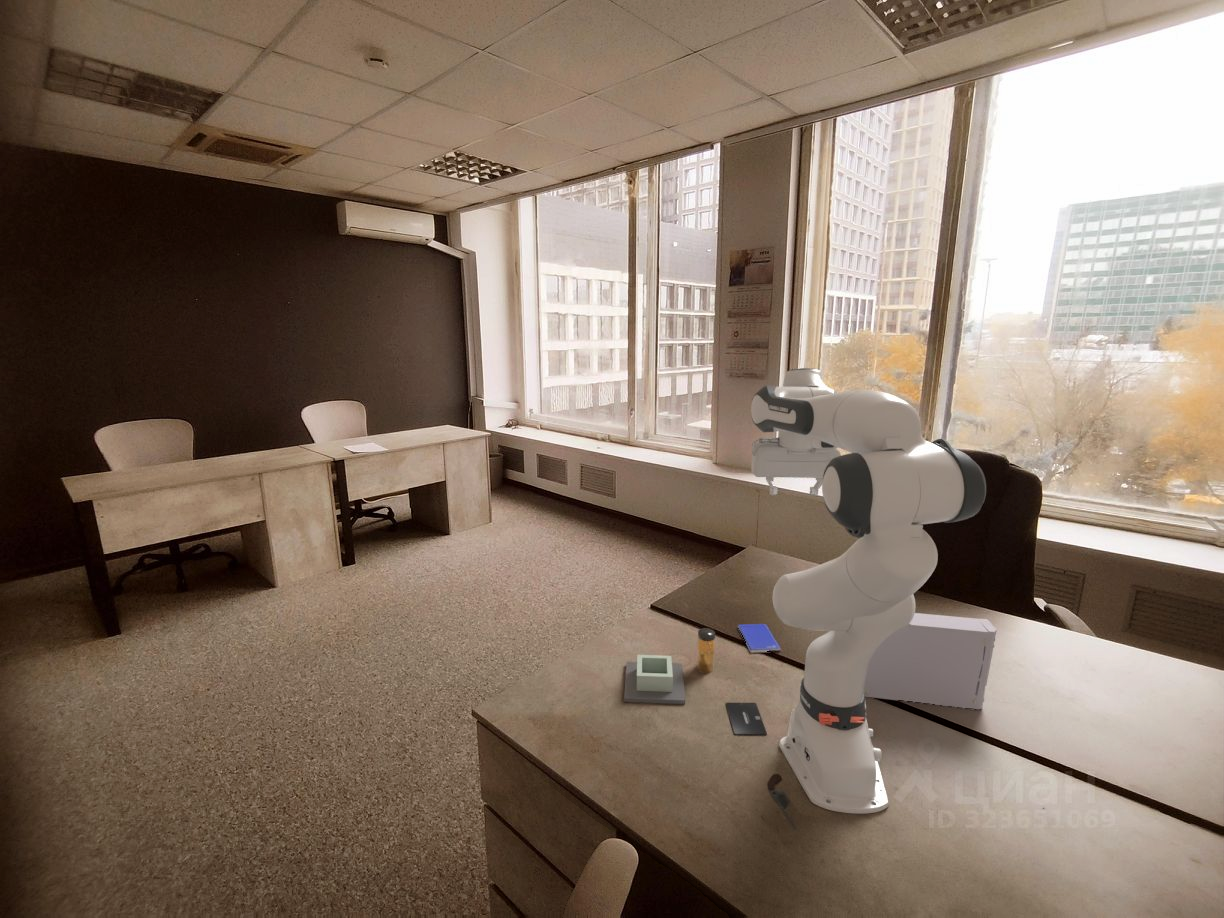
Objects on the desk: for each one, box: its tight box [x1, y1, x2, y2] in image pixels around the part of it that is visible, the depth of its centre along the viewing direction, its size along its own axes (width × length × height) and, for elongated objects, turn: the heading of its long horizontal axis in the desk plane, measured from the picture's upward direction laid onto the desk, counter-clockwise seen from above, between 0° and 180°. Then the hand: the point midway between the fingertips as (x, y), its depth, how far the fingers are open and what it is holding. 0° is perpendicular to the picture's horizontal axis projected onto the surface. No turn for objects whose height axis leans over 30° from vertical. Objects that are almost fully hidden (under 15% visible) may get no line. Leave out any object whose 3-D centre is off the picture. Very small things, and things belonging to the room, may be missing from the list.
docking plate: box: [624, 654, 686, 705], centre depth 132 cm, size 14×14×5 cm
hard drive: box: [737, 623, 782, 654], centre depth 151 cm, size 2×8×12 cm
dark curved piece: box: [767, 773, 798, 831], centre depth 99 cm, size 14×4×1 cm, turn 14°
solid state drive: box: [725, 702, 768, 736], centre depth 121 cm, size 7×10×1 cm
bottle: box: [696, 627, 716, 674], centre depth 137 cm, size 4×4×10 cm
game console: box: [864, 612, 997, 710], centre depth 125 cm, size 6×27×20 cm, turn 78°
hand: (793, 494), depth 131 cm, fingers open, 8 cm apart
